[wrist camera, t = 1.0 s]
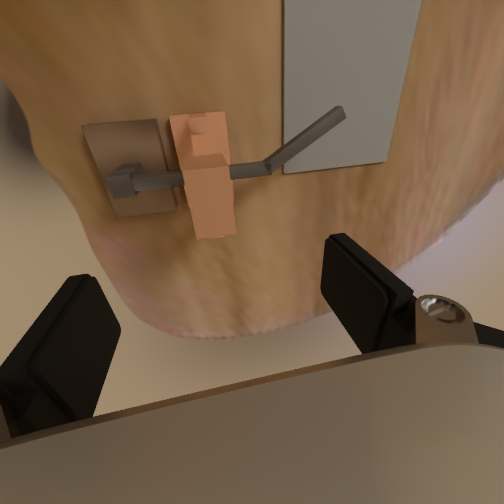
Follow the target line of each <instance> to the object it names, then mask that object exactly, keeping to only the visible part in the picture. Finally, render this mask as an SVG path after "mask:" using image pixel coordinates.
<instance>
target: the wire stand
mask: <svg viewBox="0 0 504 504" xmlns="http://www.w3.org/2000/svg"><path fill="white" fill-rule="evenodd" d="M344 119H346V115H345V112H344V109H343V107H342V106H335V107H334V108H333V109H331V110H330V111H329V112H327V113H326V114H325V115H323V116H322V117H321V118H319V119H318V120H317V121H315V122H314V123H313V124H311V125H310V126H309V127H307V128H306V129H305V130H303V131H302V132H301V133H299V134H298V135H297V136H295V137H294V138H293V139H291V140H290V141H289V142H287V143H286V144H285V145H283V146H282V147H281V148H279V149H278V150H277V151H275V152H274V153H273V154H271V155H270V156H269V157H267V158H266V159H265V160H263V161H260V162H251V163H242V164H233V165H229V173H230V180H234V179H242V178H251V177H259V176H268V175H272V172H274V171H275V170H276V169H278V168H279V167H281V166H282V165H283V164H285V163H286V162H287V161H289V160H290V159H291V158H293V157H294V156H296V155H297V154H298V153H300V152H301V151H302V150H304V149H305V148H306V147H308V146H309V145H310V144H312V143H313V142H315V141H316V140H317V139H319V138H320V137H321V136H323V135H324V134H325V133H327V132H328V131H330V130H331V129H332V128H334V127H335V126H336V125H338V124H339V123H340V122H342V121H343V120H344ZM81 128H82V130H83V133H84V135H85V138H86V140H87V143H88V145H89V148H90V150H91V153H92V156H93V158H94V161H95V163H96V166H97V168H98V171H99V173H100V176H101V178H102V181H103V184H104V186H105V189H106V191H107V194H108V196H109V199H110V201H111V204H112V206H113V209H114V212H115V214H116V217H117V218H124V217H131V216H139V215H146V214H154V213H161V212H169V211H176V208H177V202H176V198H175V194H174V190H173V187H175V186H184V185H185V183H184V178H183V173H182V170H179V171H170V172H169V169H168V165H167V161H166V157H165V153H164V149H163V144H162V140H161V136H160V132H159V128H158V124H157V120H156V119H147V120H135V121H123V122H111V123H99V124H88V125H82V126H81Z"/></svg>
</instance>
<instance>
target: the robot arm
mask: <svg viewBox="0 0 504 504" xmlns="http://www.w3.org/2000/svg"><path fill="white" fill-rule="evenodd" d="M320 289H321V293H322V295H323V297H324V298H325V300H326V301H327V303H328V304H329V306H330V307H331V309H332V310H333V311H334V313H335V314H336V316H337V317H338V319H339V320H340V322H341V323H342V325H343V326H344V327H345V329H346V330H347V332H348V334H349V335H350V336H351V338H352V339H353V341H354V342H355V344H356V345H357V347H358V348H359V350H360V351H361V353H362V354H361V355H356V356H352V357H348V358H343V359H339V360H335V361H330V362H325V363H321V364H317V365H312V366H308V367H303V368H299V369H295V370H291V371H286V372H282V373H278V374H273V375H269V376H265V377H260V378H256V379H251V380H247V381H243V382H238V383H234V384H230V385H225V386H221V387H217V388H213V389H208V390H204V391H200V392H195V393H191V394H187V395H183V396H179V397H175V398H170V399H166V400H162V401H158V402H154V403H149V404H145V405H141V406H137V407H132V408H128V409H125V410H120V411H116V412H111V413H108V414H103V415H99V416H95V417H93V414H94V411H95V408H96V405H97V402H98V399H99V396H100V393H101V390H102V387H103V384H104V381H105V379H106V375H107V373H108V370H109V367H110V364H111V361H112V358H113V355H114V352H115V349H116V346H117V343H118V340H119V337H120V333H121V327H120V324H119V322H118V320H117V318H116V317H115V314H114V313H113V310H112V309H111V306H110V305H109V303H108V301H107V299H106V297H105V295H104V293H103V291H102V289H101V287H100V285H99V283H98V281H97V279H96V278H95V277H91V276H90V275H89V274H81V275H75V276H70V277H69V278H67V280H66V281H65V282H64V284H63V285H62V286H61V288H60V289H59V290H58V292H57V293H56V294H55V295H54V297H53V298H52V300H51V301H50V302H49V303H48V305H47V306H46V307H45V309H44V310H43V311H42V312H41V314H40V315H39V317H38V318H37V319H36V320H35V322H34V323H33V324H32V326H31V327H30V328H29V330H28V331H27V332H26V334H25V335H24V336H23V337H22V339H21V340H20V341H19V343H18V344H17V345H16V347H15V348H14V349H13V350H12V352H11V353H10V354H9V356H8V357H7V358H6V360H5V361H4V362H3V364H2V365H1V366H0V504H504V331H502V330H499V329H495V328H492V327H489V326H485V325H482V324H479V323H475V322H473V320H472V317H471V315H470V313H469V312H468V311H467V310H466V309H465V308H464V307H463V306H462V305H460V304H459V303H457V302H455V301H453V300H451V299H449V298H446V297H442V296H438V295H424V296H420V297H419V298H418V299H417V298H416V297H415V296H413V292H414V291H413V290H412V289H411V288H410V287H409V286H407V285H406V284H405V283H404V282H403V281H401V280H400V279H399V278H398V277H397V276H395V275H394V274H393V273H392V272H391V271H389V270H388V269H387V268H386V267H385V266H383V265H382V264H381V263H380V262H379V261H377V260H376V259H375V258H374V257H373V256H371V255H370V254H369V253H368V252H367V251H365V250H364V249H363V248H362V247H361V246H359V245H358V244H357V243H356V242H355V241H353V240H352V239H351V238H350V237H349V236H347V235H346V234H345V233H339V234H332V235H330V236H329V238H328V239H326V240H325V247H324V257H323V267H322V277H321V287H320Z"/></svg>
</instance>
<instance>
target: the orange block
mask: <svg viewBox="0 0 504 504" xmlns="http://www.w3.org/2000/svg"><path fill="white" fill-rule="evenodd" d="M169 119H170V124H171V129H172V133H173V138H174V142H175V147H176V152H177V156H178V161H179V166H180V170H182V173H183V178H184V183H185V185H184V189H185V193H186V198H187V202H188V207H189V208H190V211H191V215H192V220H193V225H194V229H195V234H196V239H197V240H198V239H204V238H209V239H211V238H217V237H224V236H225V235H231V234H236V226H235V217H234V208H233V202H235V200H234V191H233V182H232V180H230V173H229V165H231V163H230V154H229V145H228V135H227V126H226V117H225V111H219V112H206V113H194V114H182V115H170V116H169Z"/></svg>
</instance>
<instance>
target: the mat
mask: <svg viewBox="0 0 504 504" xmlns="http://www.w3.org/2000/svg"><path fill="white" fill-rule="evenodd" d="M421 2H422V0H284V3H283V145H285V144H286V143H287V142H289V141H290V140H291V139H293V138H294V137H295V136H297V135H298V134H299V133H301V132H302V131H303V130H305V129H306V128H307V127H309V126H310V125H311V124H313V123H314V122H315V121H317V120H318V119H319V118H321V117H322V116H323V115H325V114H326V113H327V112H329V111H330V110H331V109H333V108H334V107H335V106H342V107H343V109H344V112H345V115H346V119H344V120H343V121H342V122H340V123H339V124H338V125H336V126H335V127H334V128H332V129H331V130H330V131H328V132H327V133H325V134H324V135H323V136H321V137H320V138H319V139H317V140H316V141H315V142H313V143H312V144H310V145H309V146H308V147H306V148H305V149H304V150H302V151H301V152H300V153H298V154H297V155H296V156H294V157H293V158H291V159H290V160H289V161H287V162H286V163H285V164H283V173H284V174H287V173H295V172H303V171H312V170H320V169H328V168H337V167H345V166H353V165H362V164H370V163H379V162H386V161H387V157H388V152H389V148H390V143H391V138H392V134H393V129H394V125H395V120H396V116H397V111H398V107H399V102H400V97H401V93H402V88H403V84H404V79H405V75H406V70H407V66H408V61H409V57H410V52H411V47H412V43H413V38H414V34H415V29H416V25H417V20H418V16H419V11H420V7H421Z"/></svg>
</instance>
